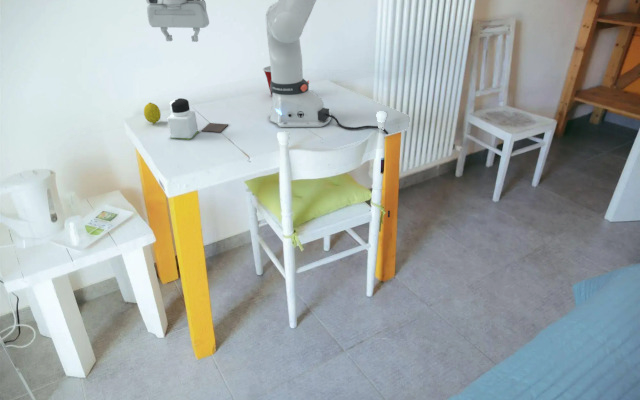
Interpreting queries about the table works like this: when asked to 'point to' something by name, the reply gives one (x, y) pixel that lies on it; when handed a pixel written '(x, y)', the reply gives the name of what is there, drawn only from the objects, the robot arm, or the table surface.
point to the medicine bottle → (181, 119)
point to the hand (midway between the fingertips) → (182, 41)
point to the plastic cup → (268, 75)
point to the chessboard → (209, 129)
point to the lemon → (152, 113)
